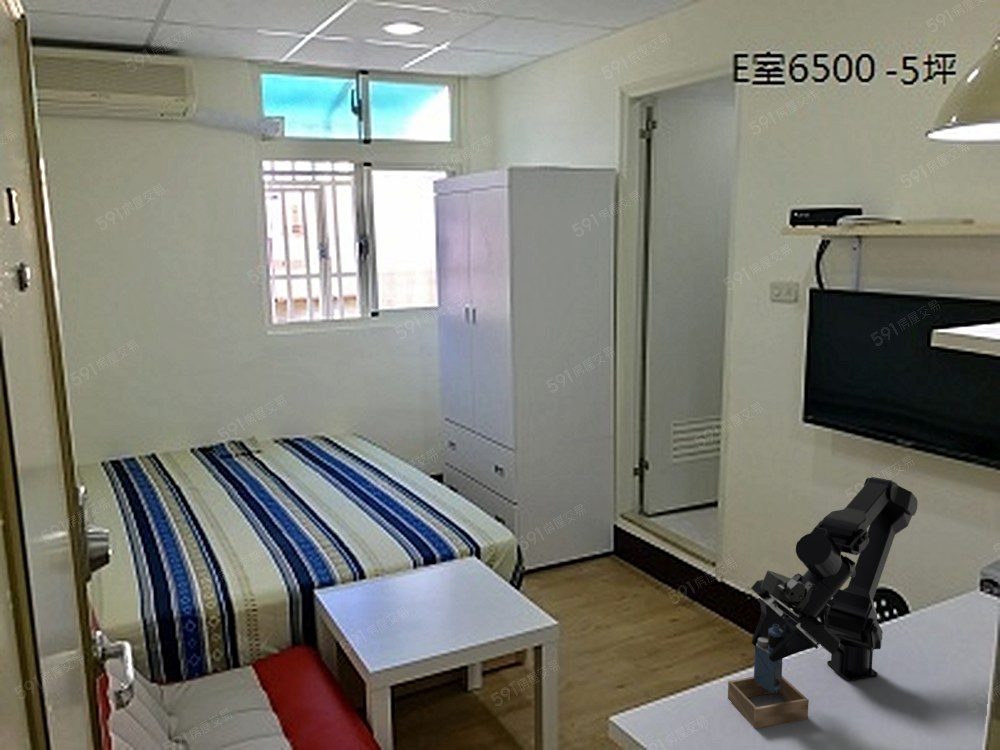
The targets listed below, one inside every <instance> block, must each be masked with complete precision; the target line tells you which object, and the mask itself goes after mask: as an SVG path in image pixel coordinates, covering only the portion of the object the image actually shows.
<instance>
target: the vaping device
mask: <svg viewBox="0 0 1000 750" xmlns="http://www.w3.org/2000/svg"><path fill="white" fill-rule="evenodd" d="M783 636H784V630H783V629H782V628H779V625H778V624H773V627H771V628H769V631H768V638H766V637H759V638H758V642H757V643H756V646H754V661H753V663H754V665H753V677H754V678H755V682H756V683H757V684H759V685H760V686H762V687H763V688H765V689H766V690H768V691H769V692H771V693H770V694H775V693H777V692H779V691H780V690H781V681H782V676H783V675H782V674H783V673H782V672H783V658H782V659H780V660H777V661H775V662H772V661H771V660H770V659H769V656H770V654H771V652H772V651H773V649H774V648H775V647H776V645H777V644H778V643H779V642H780V640H781V639H782V638H783Z"/></svg>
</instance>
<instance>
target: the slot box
mask: <svg viewBox="0 0 1000 750" xmlns="http://www.w3.org/2000/svg"><path fill="white" fill-rule="evenodd" d="M776 693H777V694H778V695H779V696H780V697H781V698H782V699H784V700H785V702H784V701H783V702H778V703H774V704H768V705H762V706H756V705H755V704H754V703H753V702H752V701H751V700H750V699H749V698H752V697H757V696H762V695H768V694H772V693H771V692H769V691H768V690H766V689H765V688H763V687H762V686H760V685H759V684H757V683H756V682H755V678H754V676H750V677H744V678H739V679H738V678H737V679H732V680H728V681H727V700H728V699H729V700H730V701H731V702H732V703H731V702H730V701H729V700H728V701H729V702H730V703H731V704H732V705H733V707H734V708H735V709H736V710H737V711H738V712H739V713H740V714H741V715H742V716H743V717H744V718H745V719H746V720H747V722H749V724H750V725H751V726H752V727H753V728H754V729H761V728H766V727H771V726H776V725H782V724H787V723H792V722H797V721H802V720H803V721H804V720H808V719H809V700H810V699H808V698H807V697H806V696H805V695H804V694H802V693H801V692H800V690H798V689H797V688H796V687H795V686H794V685H793V684H792V683H791V682H789V681H788V680H787V679H786V678H785V677H784V676H783V675H782V681H781V690H780V691H779V692H776Z"/></svg>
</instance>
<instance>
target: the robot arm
mask: <svg viewBox="0 0 1000 750" xmlns="http://www.w3.org/2000/svg"><path fill="white" fill-rule="evenodd" d="M918 505H919V503H918V499H917V497H916V496H915V494H914V493H913V492H912V491H911V490H908V489H906V488H905V487H902V486H900V485H898V483H897V482H896V481H894V480H892V479H891V480H890V479H886V478H881V477H875V476H874V477H873V476H871V477H867V478H866V479H865V482H864V484H863V487H862V488H861V489H860V490H859V491H858V492H857V493H856V495H854V497H853V498H852V500H851V501H849V502H848V504H847V505H846V506H845V507H844V508H843V509H838V510H833V511H830V512H829V513H828V514H827V515H825V516H824V517H823V518H822V520H820V521H819V522H818V523H817V525H816V526H815V527H814V528H813V529H812V531H811V532H810V533H807V534H805V535H803V536H802V537H800V539H799V540H797V542H796V543H795V554H796V556H797V558H798V559H799V560H800V562H801V563H802V565H804V567H805V568H806V569H807V570H806V572H805V573H804V574H803V575H802V574H800V573H799V572H797V573H795V574H794V575H793V576H792V577H791V578H790V577H788V576H786V575H784V574H780V573H777V572H775V571H772V570H767V571H766V573H765V575H764V577H763V579H759V580H757V581H755V583H754V584H753V585H752V586H751V588H750V589H751V591H753V592H754V593H755V595H757V596H758V600H757V601H758V602H759V604H760V610H761V611H760V612H761V613H760V617H759V621H758V623H757V626H756V628H755V631H754V633H753V636H752V639H751V644H752V646H754V647H755V646H756V643H757V642H758V638H759V637H766V638H768V631H769V628H771V627H773V624H778V625H779V628H780V629H782V627H784V626H785V625H787V627H786V632H785V634H783V638H782V639H781V640H780V642H779V643H778V644H777V645H776V647H775V648H774V649H773V651H772V652H771V654H770V656H769V659H770V660H771V661H772V662H775V661H777V660H780V659H782V660H783V659H784V658H787V657H790V656H791V655H795V654H797V653H801V652H804V651H807V650H810V649H813V648H814V649H816V650H818V649H819V647H820V646H821V647H822V648H823V649H824V650H826V651H827V652H828V653H829V654H830V656H831V658H830V660H828V661H827V663H826V664H827V665H828V666H829V667H830V668H831V669H833V670H834V671H835V672H836V673H838V674H839V675H840V676H841V677H843V679H845V680H846V681H852V682H853V681H858V680H862V679H868V678H873V677H878V675H879V673H878V672H877V671H876V670H875V669H873V657H874V655H873V654H874V651H875V650H881V648H882V641H883V634H884V633H883V632H884V631H883V629H882V627H881V626H880V624H879V622H878V614H877V611H876V607H875V603H874V598H875V595H876V592H877V589H878V587H879V583H880V581H881V578H882V574H883V572H884V569H885V565H886V562H887V560H888V557H889V554H890V552H891V548H892V545H893V541H894V539H895V537H896V535H897V534H898V533H900V532H902V531H903V530H904V529H906V528H907V527H909V524H910V522H911V520H912V517H913V516H915V515H916V514H917V510H918ZM842 553H845V554H849V555H854V556H858V557H857V560H856V562H855V561H854V560H852V559H850V558H849V556H847V555H846V556H844V555H843V554H842ZM849 579H850V580H849ZM848 580H849V582H848V585H847V587H845V588H844V589H841V588H842V586H844V585H845V583H846V582H847V581H848ZM826 606H828V607H827V608H826V609H825V612H824V615H823V620H824V621H823V622H824V623H823V622H821V621H820V620H819V619H818V618H817V616H818V615H819V614H820V613H821V612H822V610H823V609H824V608H825V607H826ZM784 614H785V615H787V616H788V617H789V618H790V619H791V620H793V621H794V622H795V623H797V624H796V625H794V623H792V622H791V621H789V620H786V619H784V618H783V617H782V616H783V615H784ZM800 615H801V616H800ZM817 644H820V646H818V645H817Z"/></svg>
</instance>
